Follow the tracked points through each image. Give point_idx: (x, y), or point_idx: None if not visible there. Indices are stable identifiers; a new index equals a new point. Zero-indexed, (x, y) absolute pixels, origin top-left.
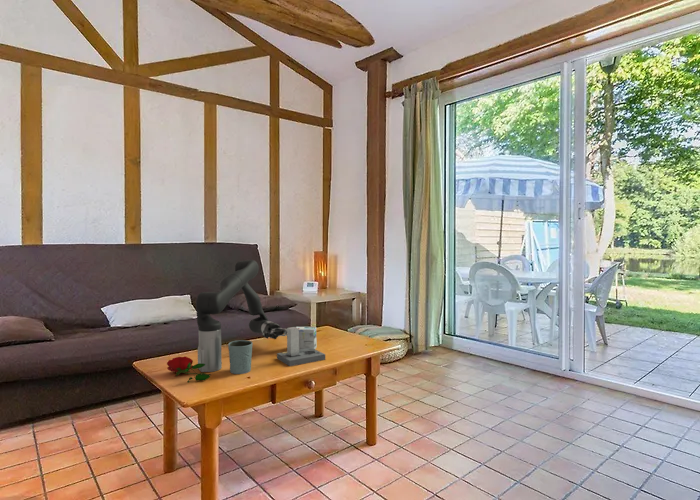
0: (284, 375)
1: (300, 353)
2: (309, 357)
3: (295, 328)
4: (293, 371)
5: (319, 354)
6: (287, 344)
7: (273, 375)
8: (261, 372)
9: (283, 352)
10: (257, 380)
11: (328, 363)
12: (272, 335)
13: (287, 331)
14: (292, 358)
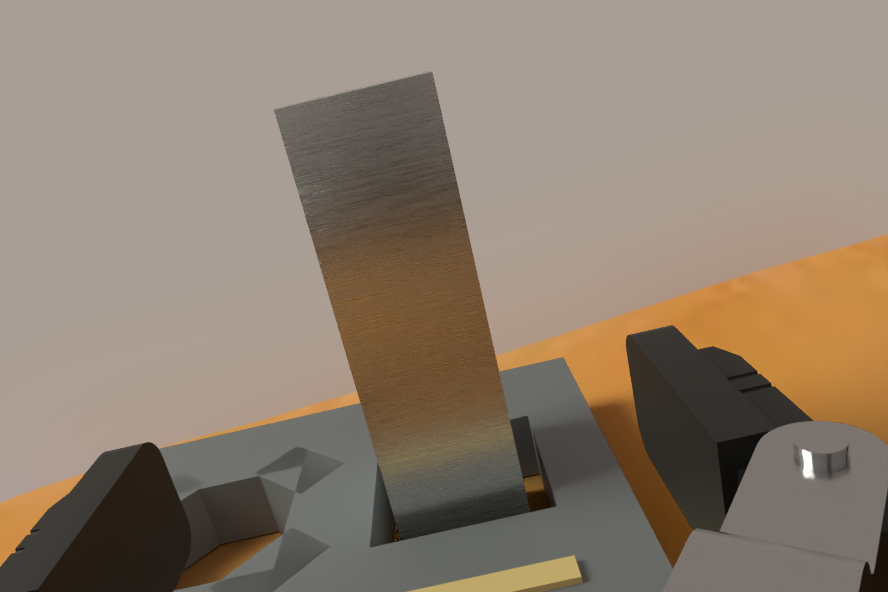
0: (658, 303)
1: (336, 510)
2: (339, 411)
3: (336, 93)
4: (575, 341)
5: (198, 453)
6: (492, 346)
7: (744, 302)
8: (870, 335)
9: (554, 580)
10: (866, 259)
11: (240, 427)
12: (753, 372)
13: (445, 132)
14: (513, 395)
